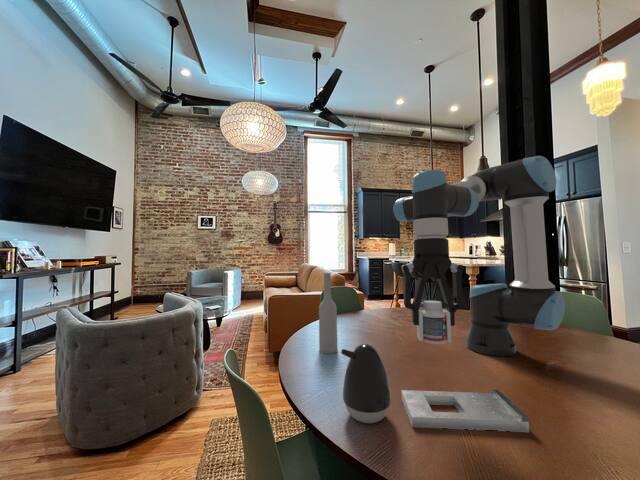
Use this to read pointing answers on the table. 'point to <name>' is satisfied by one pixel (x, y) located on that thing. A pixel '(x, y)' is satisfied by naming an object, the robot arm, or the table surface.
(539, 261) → the robot arm
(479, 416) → the jig
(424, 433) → the table surface
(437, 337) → the pill bottle
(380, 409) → the pump dispenser
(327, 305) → the bottle
